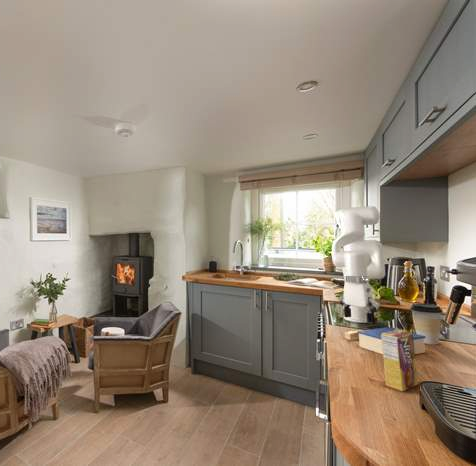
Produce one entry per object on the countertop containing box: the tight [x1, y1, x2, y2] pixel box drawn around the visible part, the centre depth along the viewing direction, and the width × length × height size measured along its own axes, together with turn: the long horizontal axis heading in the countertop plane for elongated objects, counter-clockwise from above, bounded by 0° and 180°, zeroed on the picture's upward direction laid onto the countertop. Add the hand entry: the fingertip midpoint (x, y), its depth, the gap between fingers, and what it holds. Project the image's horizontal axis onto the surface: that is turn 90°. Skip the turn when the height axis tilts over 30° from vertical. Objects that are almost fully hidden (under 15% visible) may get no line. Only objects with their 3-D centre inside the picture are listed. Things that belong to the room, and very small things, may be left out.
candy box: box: [381, 328, 419, 392], centre depth 85 cm, size 9×4×15 cm, turn 114°
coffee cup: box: [409, 303, 444, 346], centre depth 119 cm, size 9×9×15 cm
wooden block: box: [344, 329, 364, 341], centre depth 127 cm, size 15×4×3 cm, turn 104°
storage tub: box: [356, 326, 426, 355], centre depth 112 cm, size 17×13×6 cm
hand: (358, 319), depth 126 cm, fingers open, 9 cm apart
